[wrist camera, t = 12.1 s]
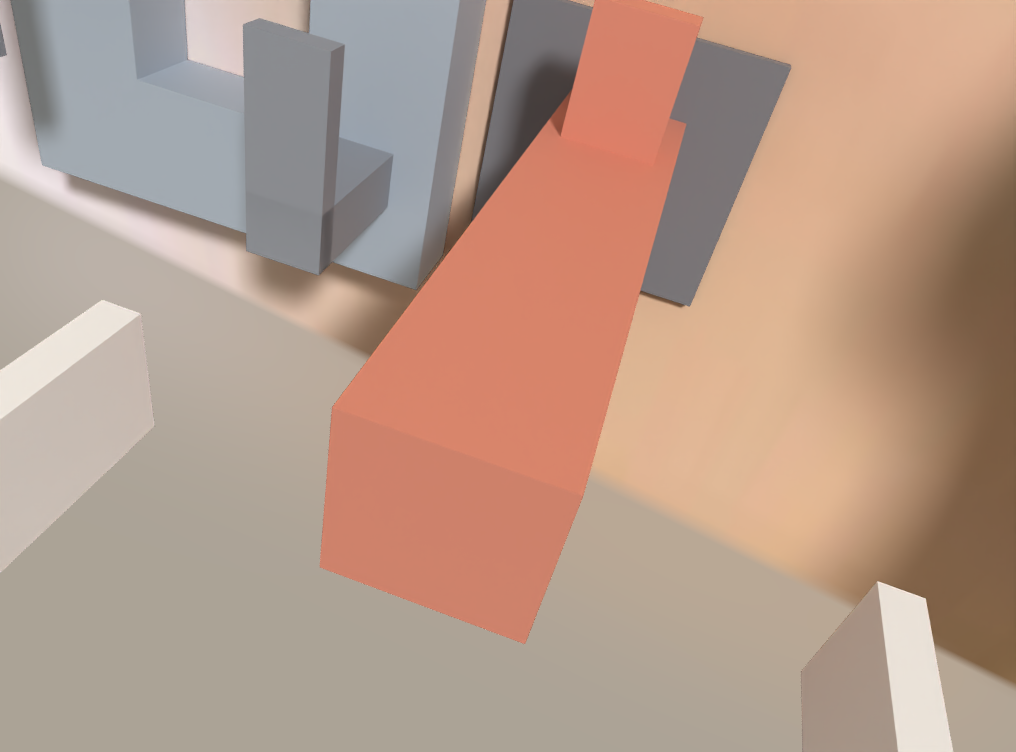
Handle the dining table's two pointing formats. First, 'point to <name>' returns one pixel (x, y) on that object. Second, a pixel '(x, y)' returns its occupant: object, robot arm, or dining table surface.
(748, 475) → the dining table surface
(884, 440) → the dining table surface
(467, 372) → the orange tabbed bar
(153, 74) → the eye block
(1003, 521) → the dining table surface
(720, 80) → the mat
